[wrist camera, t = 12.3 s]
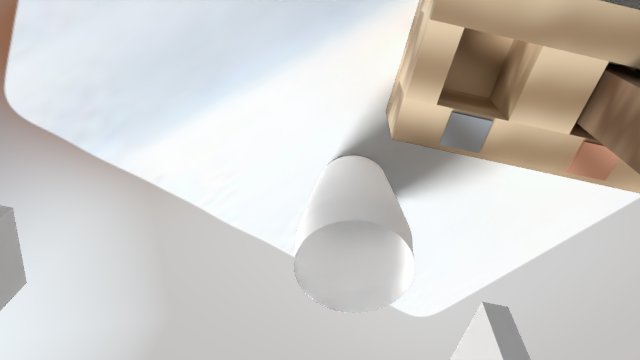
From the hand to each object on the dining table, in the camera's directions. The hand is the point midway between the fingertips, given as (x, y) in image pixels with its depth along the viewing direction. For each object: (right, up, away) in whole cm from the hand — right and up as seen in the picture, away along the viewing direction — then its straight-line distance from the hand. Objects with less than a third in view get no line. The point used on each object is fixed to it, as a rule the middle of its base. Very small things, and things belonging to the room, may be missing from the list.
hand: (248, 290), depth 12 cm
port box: (+19, +12, +23) cm, 32 cm away
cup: (+5, +3, +29) cm, 30 cm away
